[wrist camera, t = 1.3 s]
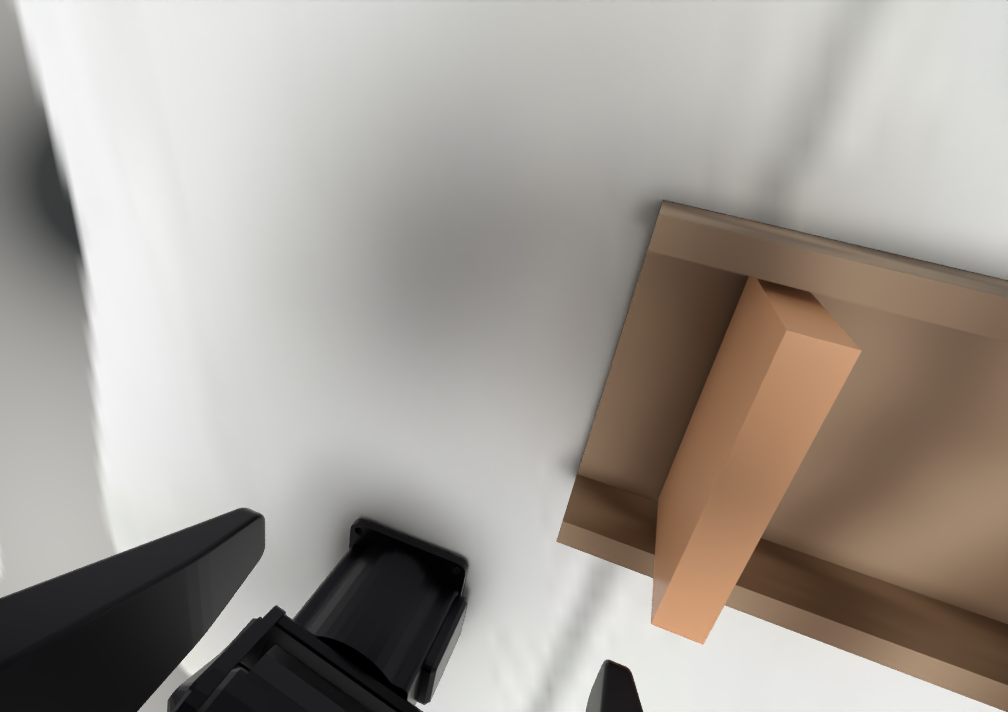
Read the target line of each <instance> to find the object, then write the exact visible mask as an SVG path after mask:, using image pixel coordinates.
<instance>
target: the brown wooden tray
mask: <svg viewBox="0 0 1008 712" xmlns="http://www.w3.org/2000/svg"><path fill="white" fill-rule="evenodd" d="M749 276H750V277H754V278H758V279H762V280H766V281H769V282H773V283H777V284H781V285H785V286H789V287H793V288H797V289H801V290H805V291H809V292H811V293H812V294H813V296H814V297H815V298H816V299H817V300H818V301H819V302H820V303H821V305H822V306H823V307H824V308H825V309H826V310H827V311H828V313H829V314H830V315H831V316H832V317H833V318H834V319H835V321H836V322H837V323H838V324H839V325H840V326H841V327H842V329H843V330H844V331H845V332H846V333H847V334H848V335H849V337H850V338H851V339H852V340H853V341H854V342H855V343H856V345H857V346H858V347H859V348H860V349H861V350H862V351H861V353H860V355H859V357H858V359H857V361H856V362H855V364H854V366H853V368H852V370H851V372H850V374H849V375H848V377H847V379H846V381H845V383H844V385H843V387H842V388H841V390H840V392H839V394H838V396H837V398H836V400H835V401H834V403H833V405H832V407H831V409H830V411H829V412H828V414H827V416H826V418H825V420H824V422H823V424H822V425H821V427H820V429H819V431H818V433H817V435H816V437H815V438H814V440H813V442H812V444H811V446H810V448H809V449H808V451H807V453H806V455H805V457H804V459H803V461H802V462H801V464H800V466H799V468H798V470H797V472H796V474H795V475H794V477H793V479H792V481H791V483H790V485H789V487H788V488H787V490H786V492H785V494H784V496H783V498H782V499H781V501H780V503H779V505H778V507H777V509H776V511H775V512H774V514H773V516H772V518H771V520H770V522H769V524H768V525H767V527H766V529H765V531H764V533H763V535H762V537H761V538H760V540H759V542H758V544H757V546H756V548H755V549H754V551H753V553H752V555H751V557H750V559H749V561H748V562H747V564H746V566H745V568H744V570H743V572H742V574H741V575H740V577H739V579H738V581H737V583H736V585H735V586H734V588H733V590H732V592H731V594H730V596H729V598H728V599H727V601H726V603H725V605H726V606H728V607H731V608H734V609H736V610H739V611H742V612H744V613H747V614H749V615H752V616H755V617H757V618H760V619H763V620H765V621H768V622H771V623H773V624H776V625H779V626H781V627H784V628H786V629H789V630H792V631H794V632H797V633H800V634H802V635H805V636H808V637H810V638H813V639H816V640H818V641H821V642H823V643H826V644H829V645H831V646H834V647H837V648H839V649H842V650H845V651H847V652H850V653H853V654H855V655H858V656H860V657H863V658H866V659H868V660H871V661H874V662H876V663H879V664H882V665H884V666H887V667H890V668H892V669H895V670H897V671H900V672H903V673H905V674H908V675H911V676H913V677H916V678H919V679H921V680H924V681H927V682H929V683H932V684H934V685H937V686H940V687H942V688H945V689H948V690H950V691H953V692H956V693H958V694H961V695H963V696H966V697H969V698H971V699H974V700H977V701H979V702H982V703H985V704H987V705H990V706H993V707H995V708H998V709H1000V710H1003V711H1006V712H1008V280H1003V279H999V278H995V277H990V276H986V275H982V274H978V273H973V272H969V271H965V270H961V269H956V268H952V267H948V266H943V265H939V264H935V263H931V262H926V261H922V260H918V259H914V258H909V257H905V256H901V255H897V254H892V253H888V252H884V251H879V250H875V249H871V248H867V247H862V246H858V245H854V244H850V243H845V242H841V241H837V240H832V239H828V238H824V237H820V236H815V235H811V234H807V233H803V232H798V231H794V230H790V229H785V228H781V227H777V226H773V225H768V224H764V223H760V222H756V221H751V220H747V219H743V218H738V217H734V216H730V215H726V214H721V213H717V212H713V211H709V210H704V209H700V208H696V207H691V206H687V205H683V204H679V203H674V202H670V201H666V200H663V202H662V205H661V208H660V211H659V214H658V218H657V221H656V224H655V227H654V230H653V234H652V237H651V240H650V243H649V246H648V250H647V253H646V256H645V259H644V262H643V266H642V269H641V272H640V275H639V278H638V282H637V285H636V288H635V291H634V294H633V297H632V301H631V304H630V307H629V310H628V313H627V317H626V320H625V323H624V326H623V329H622V333H621V336H620V339H619V342H618V345H617V349H616V352H615V355H614V358H613V361H612V365H611V368H610V371H609V374H608V377H607V380H606V384H605V387H604V390H603V393H602V396H601V400H600V403H599V406H598V409H597V412H596V416H595V419H594V422H593V425H592V428H591V432H590V435H589V438H588V441H587V444H586V448H585V451H584V454H583V457H582V460H581V463H580V467H579V470H578V473H577V476H576V479H575V483H574V486H573V489H572V492H571V496H570V499H569V502H568V505H567V509H566V512H565V515H564V518H563V522H562V525H561V528H560V531H559V535H558V538H557V542H559V543H562V544H564V545H567V546H570V547H572V548H575V549H578V550H580V551H583V552H586V553H588V554H591V555H594V556H596V557H599V558H601V559H604V560H607V561H609V562H612V563H615V564H617V565H620V566H623V567H625V568H628V569H631V570H633V571H636V572H638V573H641V574H644V575H646V576H649V577H652V578H654V561H655V544H656V528H657V511H658V498H659V496H660V493H661V491H662V488H663V486H664V483H665V481H666V478H667V476H668V473H669V471H670V469H671V466H672V464H673V461H674V459H675V456H676V454H677V451H678V449H679V447H680V444H681V442H682V439H683V437H684V434H685V432H686V429H687V427H688V424H689V422H690V420H691V417H692V415H693V412H694V410H695V407H696V405H697V402H698V400H699V398H700V395H701V393H702V390H703V388H704V385H705V383H706V380H707V378H708V375H709V373H710V371H711V368H712V366H713V363H714V361H715V358H716V356H717V353H718V351H719V349H720V346H721V344H722V341H723V339H724V336H725V334H726V331H727V329H728V326H729V324H730V322H731V319H732V317H733V314H734V312H735V309H736V307H737V304H738V302H739V299H740V297H741V295H742V292H743V290H744V287H745V285H746V282H747V280H748V277H749Z"/></svg>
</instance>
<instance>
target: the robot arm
mask: <svg viewBox="0 0 1008 712" xmlns="http://www.w3.org/2000/svg"><path fill="white" fill-rule="evenodd" d="M264 549H265V518H264V516H263V515H262V514H260V513H258V512H256V511H253V510H251V509H248V508H239V509H236V510H233V511H231V512H228V513H225V514H223V515H220V516H217V517H215V518H212V519H209V520H207V521H204V522H201V523H199V524H196V525H193V526H191V527H188V528H185V529H183V530H180V531H177V532H175V533H172V534H170V535H167V536H164V537H162V538H159V539H156V540H154V541H151V542H148V543H146V544H143V545H140V546H138V547H135V548H132V549H130V550H127V551H124V552H122V553H119V554H116V555H114V556H111V557H109V558H106V559H103V560H100V561H98V562H95V563H92V564H90V565H87V566H84V567H82V568H79V569H76V570H74V571H71V572H68V573H66V574H63V575H60V576H58V577H55V578H52V579H50V580H47V581H45V582H42V583H39V584H37V585H34V586H31V587H29V588H26V589H23V590H21V591H18V592H15V593H13V594H10V595H7V596H5V597H2V598H0V712H137V711H138V710H139V709H140V708H141V707H142V705H143V704H144V703H145V702H146V701H147V700H148V699H149V698H150V696H151V695H152V694H153V693H154V692H155V691H156V690H157V688H158V687H159V686H160V685H161V684H162V683H163V681H165V679H166V678H167V677H168V676H169V675H170V674H171V673H172V671H173V670H174V669H175V668H176V667H177V666H178V665H179V664H180V662H181V661H182V660H183V659H184V658H185V657H186V656H187V654H188V653H189V652H190V651H191V650H192V649H193V648H194V646H195V645H196V644H197V643H198V642H199V641H200V639H201V638H202V637H203V636H204V635H205V633H206V632H207V631H208V629H209V628H210V627H211V626H212V624H213V623H214V622H215V620H216V619H217V617H218V616H219V615H220V613H221V612H222V611H223V609H224V608H225V607H226V605H227V604H228V602H229V601H230V600H231V598H232V597H233V596H234V594H235V593H236V592H237V590H238V589H239V587H240V586H241V585H242V583H243V582H244V581H245V579H246V578H247V576H248V575H249V574H250V572H251V571H252V570H253V568H254V567H255V566H256V564H257V563H258V561H259V560H260V558H261V557H262V555H263V552H264ZM456 567H457V568H456ZM458 568H459V569H458ZM467 572H468V565H467V563H466V562H465V561H464V560H463V559H461V558H459V557H457V556H454V555H452V554H449V553H447V552H444V551H442V550H439V549H437V548H434V547H432V546H429V545H427V544H424V543H422V542H419V541H417V540H414V539H412V538H409V537H407V536H404V535H402V534H399V533H397V532H394V531H392V530H389V529H387V528H384V527H382V526H379V525H377V524H374V523H372V522H369V521H367V520H364V519H357V520H356V521H355V522H354V523H353V525H352V526H351V532H350V544H349V551H348V552H347V553H346V554H345V555H344V557H343V558H342V559H341V560H340V562H339V563H338V564H337V565H336V567H335V568H334V569H333V570H332V572H331V573H330V574H329V575H328V576H327V578H326V579H325V580H324V581H323V583H322V584H321V585H320V586H319V588H318V589H317V590H316V591H315V593H314V594H313V595H312V596H311V597H310V599H309V600H308V601H307V602H306V604H305V605H304V606H303V607H302V609H301V610H300V611H299V612H298V613H297V615H296V616H295V617H294V618H293V619H291V618H290V617H288V616H287V615H285V613H286V612H285V611H284V610H282V609H281V608H280V607H278V606H277V605H276V606H274V607H273V608H272V609H271V610H270V611H269V612H268V613H267V614H266V615H265V616H264V617H263V618H261V617H259V618H258V619H254V618H253V619H252V620H251V621H250V622H249V623H248V624H247V626H246V627H245V628H244V629H243V630H242V631H241V632H240V633H239V635H238V636H237V637H236V638H235V639H234V640H233V641H232V642H231V643H230V644H229V645H228V646H227V647H226V648H225V649H224V650H223V651H222V652H221V653H220V654H219V655H217V656H216V657H215V658H214V659H212V660H211V661H210V662H209V663H207V664H206V665H205V666H204V667H202V668H201V669H200V670H199V671H197V672H196V673H195V674H194V675H192V676H191V677H190V678H189V679H187V680H186V681H185V682H184V683H182V684H181V685H180V686H179V687H178V688H177V689H176V690H175V691H174V693H173V694H172V695H171V696H170V698H169V700H168V706H167V707H168V708H167V712H423V711H421V710H420V709H418V708H417V707H416V706H415V704H416V702H419V703H421V704H423V705H425V704H427V703H429V702H430V701H431V699H432V697H433V695H434V692H435V690H436V688H437V686H438V683H439V681H440V679H441V677H442V674H443V672H444V670H445V668H446V665H447V663H448V661H449V659H450V656H451V654H452V652H453V650H454V647H455V645H456V643H457V641H458V638H459V636H460V634H461V630H462V625H463V621H464V617H465V612H466V608H467V601H466V598H464V597H462V595H463V590H464V585H465V581H466V576H467ZM586 712H643V709H642V706H641V703H640V699H639V696H638V692H637V689H636V686H635V682H634V679H633V676H632V673H631V671H630V670H629V668H627V667H626V666H623V665H621V664H618V663H616V662H614V661H611V660H605V661H604V662H603V664H602V666H601V669H600V671H599V673H598V676H597V678H596V680H595V683H594V685H593V687H592V690H591V693H590V696H589V699H588V703H587V708H586Z"/></svg>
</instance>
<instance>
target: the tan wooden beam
mask: <svg viewBox="0 0 1008 712" xmlns="http://www.w3.org/2000/svg"><path fill="white" fill-rule="evenodd" d="M861 351H862V350H861V349H860V348H859V347H858V346H857V345H856V343H855V342H854V341H853V340H852V339H851V338H850V337H849V335H848V334H847V333H846V332H845V331H844V330H843V329H842V327H841V326H840V325H839V324H838V323H837V322H836V321H835V319H834V318H833V317H832V316H831V315H830V314H829V313H828V311H827V310H826V309H825V308H824V307H823V306H822V305H821V303H820V302H819V301H818V300H817V299H816V298H815V297H814V296H813V294H812V293H811V292H809V291H805V290H801V289H797V288H793V287H789V286H785V285H781V284H777V283H773V282H769V281H766V280H762V279H758V278H754V277H750V276H749V277H748V280H747V282H746V285H745V287H744V290H743V292H742V295H741V297H740V299H739V302H738V304H737V307H736V309H735V312H734V314H733V317H732V319H731V322H730V324H729V326H728V329H727V331H726V334H725V336H724V339H723V341H722V344H721V346H720V349H719V351H718V353H717V356H716V358H715V361H714V363H713V366H712V368H711V371H710V373H709V375H708V378H707V380H706V383H705V385H704V388H703V390H702V393H701V395H700V398H699V400H698V402H697V405H696V407H695V410H694V412H693V415H692V417H691V420H690V422H689V424H688V427H687V429H686V432H685V434H684V437H683V439H682V442H681V444H680V447H679V449H678V451H677V454H676V456H675V459H674V461H673V464H672V466H671V469H670V471H669V473H668V476H667V478H666V481H665V483H664V486H663V488H662V491H661V493H660V496H659V498H658V511H657V528H656V544H655V561H654V578H653V595H652V612H651V624H652V625H655V626H657V627H660V628H662V629H665V630H667V631H670V632H673V633H675V634H678V635H680V636H683V637H685V638H688V639H690V640H693V641H695V642H698V643H700V644H704V642H705V640H706V638H707V636H708V635H709V633H710V631H711V629H712V627H713V625H714V624H715V622H716V620H717V618H718V616H719V614H720V612H721V611H722V609H723V607H724V605H725V603H726V601H727V599H728V598H729V596H730V594H731V592H732V590H733V588H734V586H735V585H736V583H737V581H738V579H739V577H740V575H741V574H742V572H743V570H744V568H745V566H746V564H747V562H748V561H749V559H750V557H751V555H752V553H753V551H754V549H755V548H756V546H757V544H758V542H759V540H760V538H761V537H762V535H763V533H764V531H765V529H766V527H767V525H768V524H769V522H770V520H771V518H772V516H773V514H774V512H775V511H776V509H777V507H778V505H779V503H780V501H781V499H782V498H783V496H784V494H785V492H786V490H787V488H788V487H789V485H790V483H791V481H792V479H793V477H794V475H795V474H796V472H797V470H798V468H799V466H800V464H801V462H802V461H803V459H804V457H805V455H806V453H807V451H808V449H809V448H810V446H811V444H812V442H813V440H814V438H815V437H816V435H817V433H818V431H819V429H820V427H821V425H822V424H823V422H824V420H825V418H826V416H827V414H828V412H829V411H830V409H831V407H832V405H833V403H834V401H835V400H836V398H837V396H838V394H839V392H840V390H841V388H842V387H843V385H844V383H845V381H846V379H847V377H848V375H849V374H850V372H851V370H852V368H853V366H854V364H855V362H856V361H857V359H858V357H859V355H860V353H861Z"/></svg>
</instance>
